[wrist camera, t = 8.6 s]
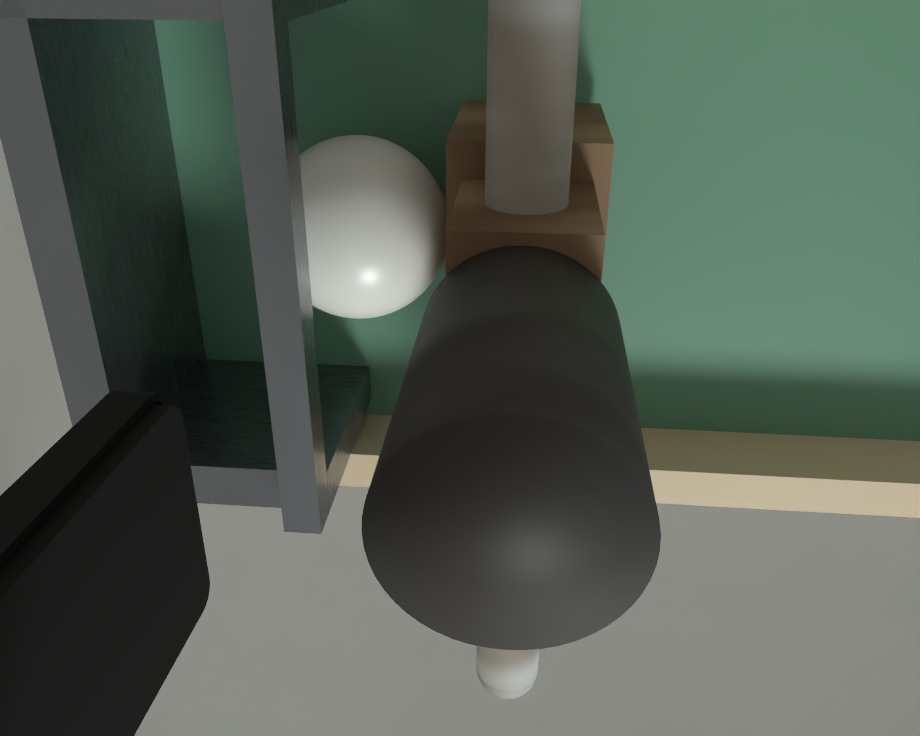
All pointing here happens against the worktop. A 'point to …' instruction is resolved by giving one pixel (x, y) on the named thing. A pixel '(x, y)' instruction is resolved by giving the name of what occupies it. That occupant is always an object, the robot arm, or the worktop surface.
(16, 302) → the worktop surface
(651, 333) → the pitch
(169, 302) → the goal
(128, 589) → the robot arm
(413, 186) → the ball
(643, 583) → the kicker
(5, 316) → the worktop surface
